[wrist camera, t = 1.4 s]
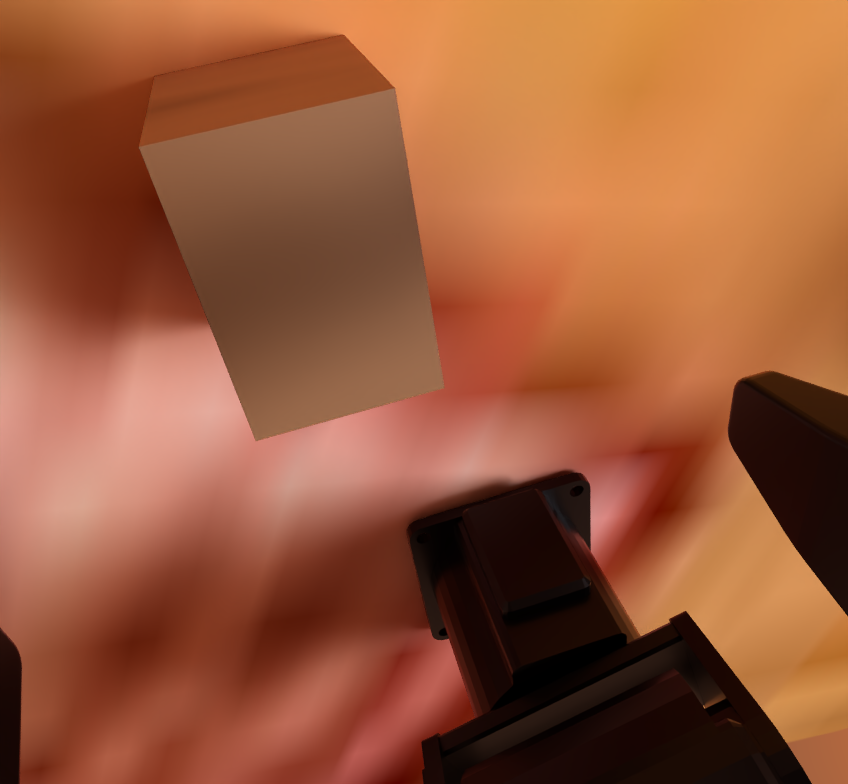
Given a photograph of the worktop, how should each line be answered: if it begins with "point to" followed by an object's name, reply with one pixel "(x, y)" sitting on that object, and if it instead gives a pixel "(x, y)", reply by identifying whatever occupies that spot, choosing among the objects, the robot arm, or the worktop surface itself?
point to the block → (297, 229)
